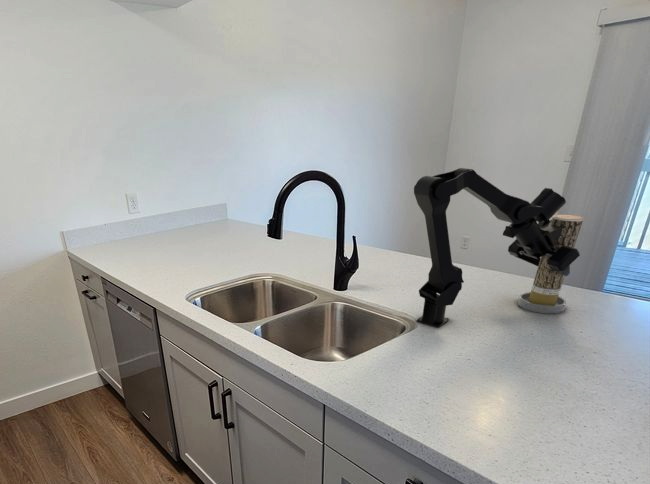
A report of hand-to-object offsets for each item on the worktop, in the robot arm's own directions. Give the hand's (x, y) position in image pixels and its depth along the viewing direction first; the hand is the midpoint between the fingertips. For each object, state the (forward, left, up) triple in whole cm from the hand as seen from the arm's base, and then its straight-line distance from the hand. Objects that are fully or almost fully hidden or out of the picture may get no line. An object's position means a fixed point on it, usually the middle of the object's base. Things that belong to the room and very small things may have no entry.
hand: (553, 270), depth 123 cm
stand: (-1, +1, -11) cm, 11 cm away
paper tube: (-2, 0, -10) cm, 10 cm away
